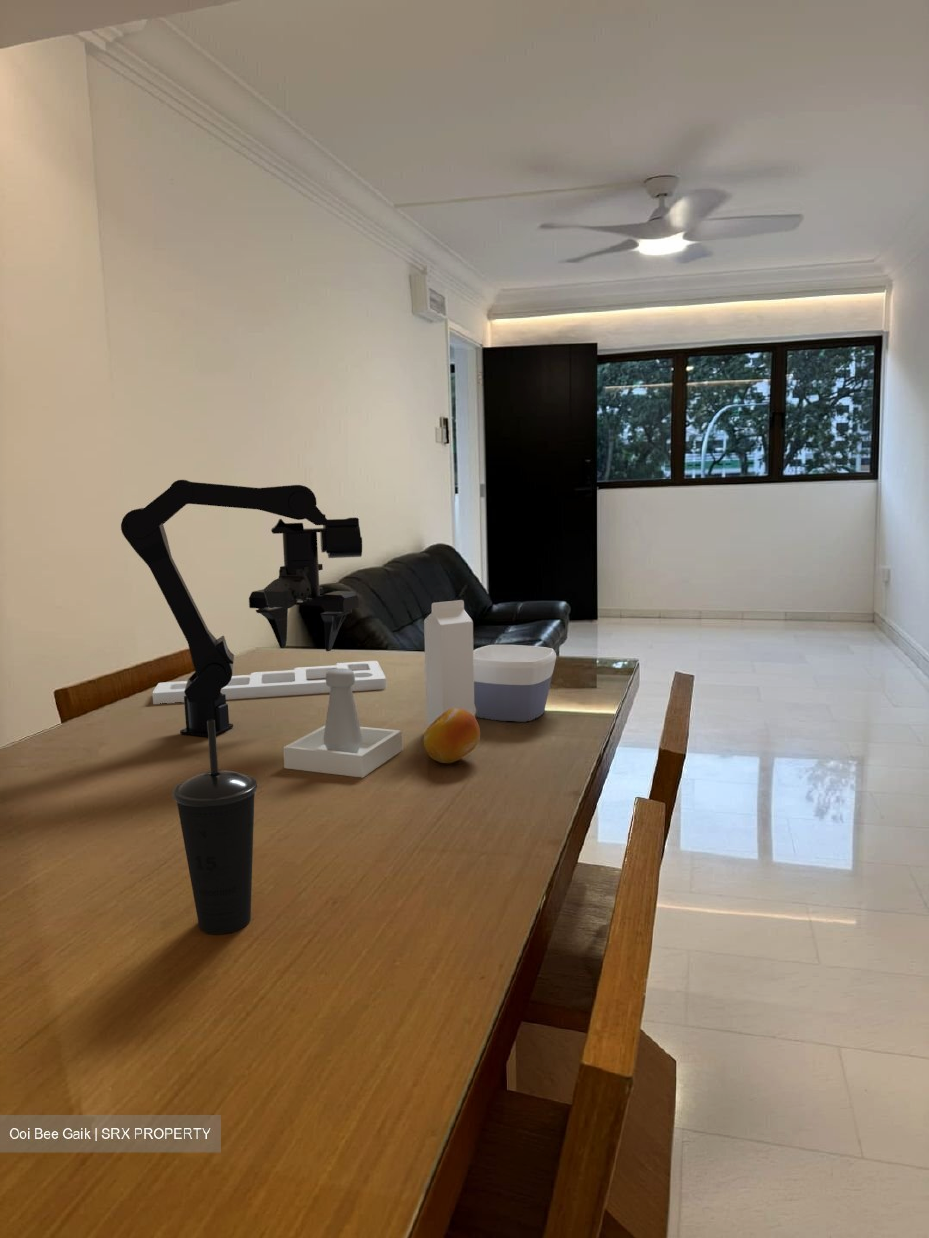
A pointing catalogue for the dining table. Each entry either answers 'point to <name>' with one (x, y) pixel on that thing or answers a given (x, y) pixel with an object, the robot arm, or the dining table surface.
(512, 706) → the bowl
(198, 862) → the drinking cup
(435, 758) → the fruit
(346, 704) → the salt shaker
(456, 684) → the milk
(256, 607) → the robot arm
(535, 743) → the dining table surface
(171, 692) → the holder
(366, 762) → the dish
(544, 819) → the dining table surface
